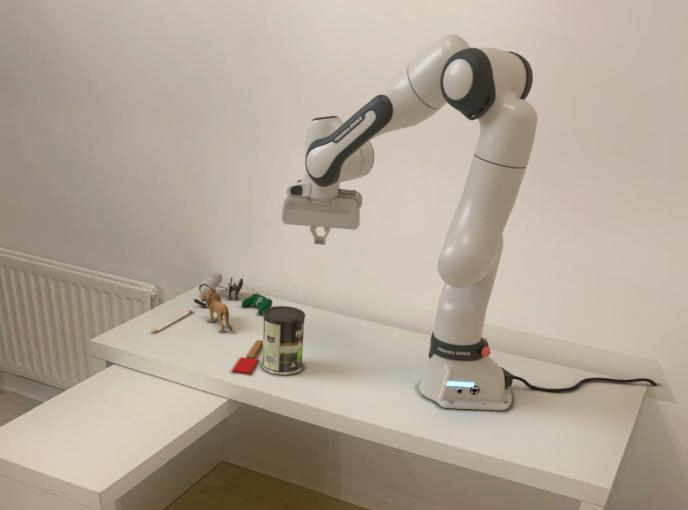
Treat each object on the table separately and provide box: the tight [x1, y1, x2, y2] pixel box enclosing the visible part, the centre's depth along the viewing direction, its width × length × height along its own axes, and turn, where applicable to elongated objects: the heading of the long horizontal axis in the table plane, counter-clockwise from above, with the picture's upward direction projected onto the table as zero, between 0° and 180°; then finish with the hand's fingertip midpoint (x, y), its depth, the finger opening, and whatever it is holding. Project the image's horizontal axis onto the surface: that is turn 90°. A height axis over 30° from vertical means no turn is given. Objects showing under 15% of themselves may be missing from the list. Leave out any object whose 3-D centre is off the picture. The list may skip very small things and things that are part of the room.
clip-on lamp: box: [191, 271, 244, 308], centre depth 226 cm, size 12×6×18 cm
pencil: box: [153, 309, 193, 333], centre depth 211 cm, size 1×19×1 cm, turn 154°
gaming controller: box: [240, 290, 273, 316], centre depth 222 cm, size 9×4×6 cm
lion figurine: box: [198, 287, 234, 333], centre depth 209 cm, size 15×5×9 cm, turn 37°
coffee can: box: [261, 305, 306, 376], centre depth 187 cm, size 10×10×14 cm
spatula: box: [232, 339, 263, 375], centre depth 194 cm, size 4×19×1 cm, turn 169°
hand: (319, 244), depth 196 cm, fingers closed
